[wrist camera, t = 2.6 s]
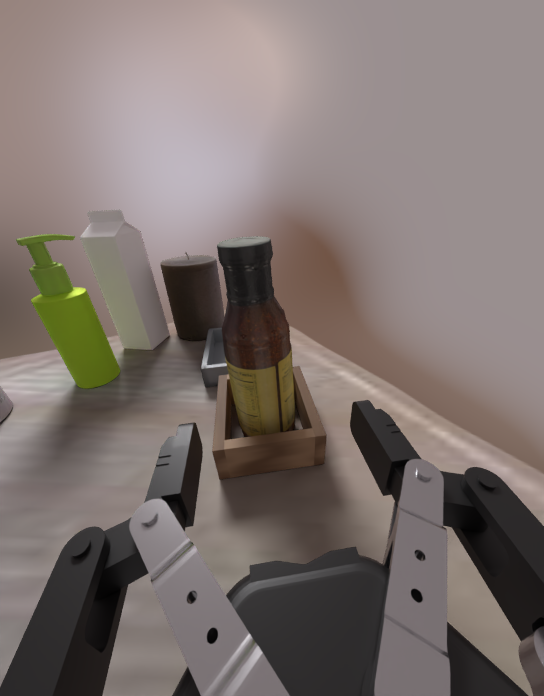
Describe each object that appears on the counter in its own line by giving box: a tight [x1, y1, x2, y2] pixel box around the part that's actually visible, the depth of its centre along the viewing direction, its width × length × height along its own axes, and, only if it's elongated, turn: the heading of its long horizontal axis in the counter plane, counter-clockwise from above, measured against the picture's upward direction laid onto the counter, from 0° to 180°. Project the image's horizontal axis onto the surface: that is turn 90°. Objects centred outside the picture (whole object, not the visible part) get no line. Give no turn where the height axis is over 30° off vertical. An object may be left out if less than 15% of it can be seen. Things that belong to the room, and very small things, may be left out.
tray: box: [201, 328, 229, 387], centre depth 41 cm, size 11×12×3 cm
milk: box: [80, 210, 170, 350], centre depth 44 cm, size 6×6×22 cm
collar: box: [212, 366, 326, 479], centre depth 28 cm, size 10×11×4 cm
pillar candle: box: [161, 253, 225, 341], centre depth 49 cm, size 10×10×15 cm
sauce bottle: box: [217, 236, 295, 437], centre depth 24 cm, size 6×6×20 cm
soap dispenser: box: [16, 234, 120, 389], centre depth 35 cm, size 6×7×20 cm
